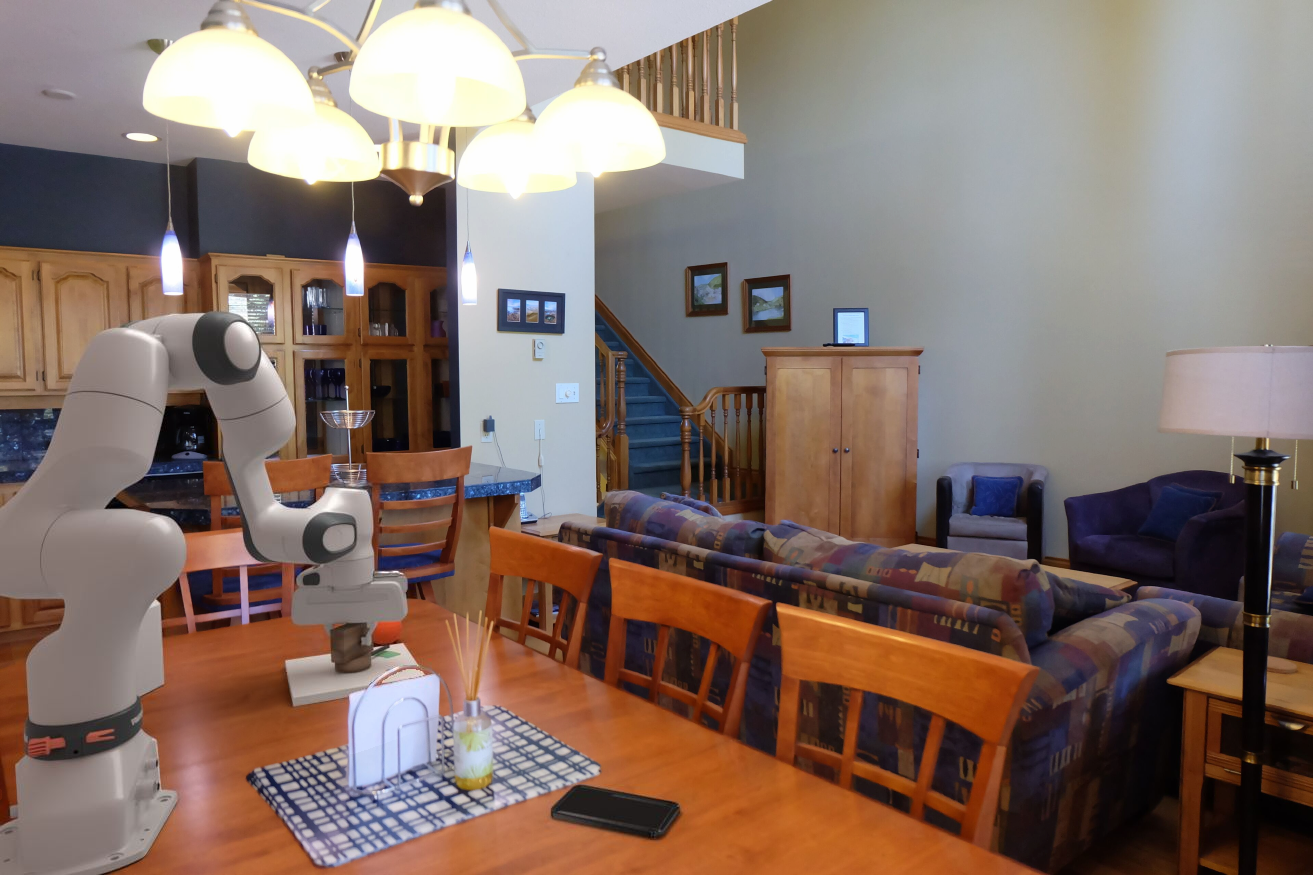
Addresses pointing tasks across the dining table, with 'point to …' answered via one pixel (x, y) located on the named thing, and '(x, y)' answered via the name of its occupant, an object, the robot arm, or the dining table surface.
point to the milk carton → (149, 652)
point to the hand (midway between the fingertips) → (351, 645)
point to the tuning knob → (351, 648)
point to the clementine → (387, 632)
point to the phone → (616, 811)
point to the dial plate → (343, 675)
